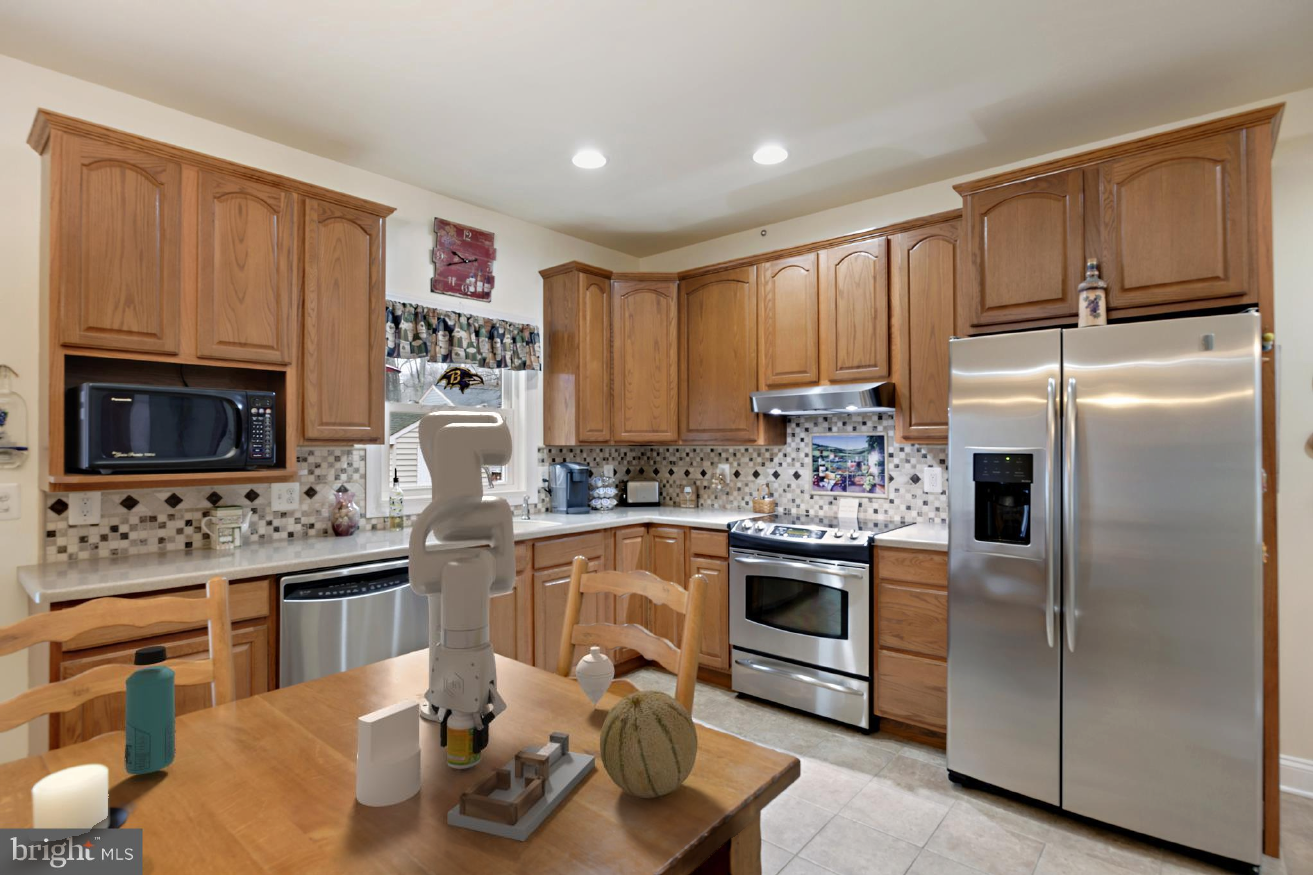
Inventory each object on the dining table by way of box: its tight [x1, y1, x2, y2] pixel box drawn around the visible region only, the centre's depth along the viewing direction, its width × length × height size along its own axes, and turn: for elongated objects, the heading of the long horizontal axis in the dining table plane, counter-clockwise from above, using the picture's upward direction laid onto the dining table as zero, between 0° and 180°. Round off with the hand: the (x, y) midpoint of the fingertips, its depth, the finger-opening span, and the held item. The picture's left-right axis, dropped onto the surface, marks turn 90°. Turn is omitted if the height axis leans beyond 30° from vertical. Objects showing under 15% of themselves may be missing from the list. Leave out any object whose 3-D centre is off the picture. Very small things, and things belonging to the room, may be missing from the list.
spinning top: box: [575, 646, 615, 709], centre depth 130 cm, size 8×8×12 cm
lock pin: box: [523, 731, 570, 778], centre depth 104 cm, size 10×3×3 cm, turn 160°
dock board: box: [446, 744, 596, 842], centre depth 98 cm, size 22×12×5 cm, turn 160°
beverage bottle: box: [123, 645, 177, 775], centre depth 104 cm, size 6×7×20 cm
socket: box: [458, 767, 545, 826], centre depth 92 cm, size 8×8×2 cm
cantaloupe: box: [599, 689, 699, 799], centre depth 99 cm, size 15×15×15 cm
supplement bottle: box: [446, 710, 482, 770], centre depth 106 cm, size 5×5×10 cm
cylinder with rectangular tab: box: [355, 699, 422, 808], centre depth 99 cm, size 9×9×12 cm
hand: (464, 745), depth 106 cm, fingers closed on supplement bottle, 5 cm apart
